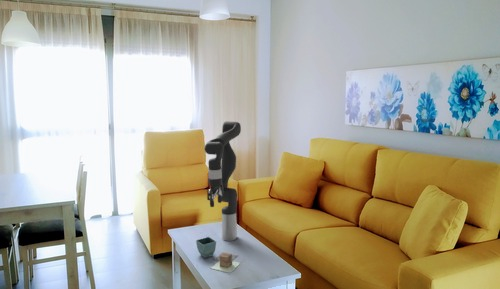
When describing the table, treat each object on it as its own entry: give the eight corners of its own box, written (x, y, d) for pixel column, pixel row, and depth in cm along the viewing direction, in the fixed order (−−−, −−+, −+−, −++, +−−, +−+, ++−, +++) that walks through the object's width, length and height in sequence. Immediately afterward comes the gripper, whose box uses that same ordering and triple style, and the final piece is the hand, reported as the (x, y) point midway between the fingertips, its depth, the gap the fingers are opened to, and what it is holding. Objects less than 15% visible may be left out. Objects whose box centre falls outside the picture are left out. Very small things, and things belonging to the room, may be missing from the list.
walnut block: (224, 262, 209) (224, 252, 208) (232, 264, 207) (232, 253, 206) (219, 266, 204) (219, 255, 204) (227, 268, 202) (227, 257, 201)
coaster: (221, 259, 213) (221, 259, 213) (240, 263, 208) (240, 263, 208) (210, 268, 203) (210, 268, 203) (230, 273, 197) (230, 272, 197)
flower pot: (203, 260, 213) (203, 245, 212) (196, 254, 220) (195, 240, 219) (216, 256, 218) (216, 241, 217) (209, 251, 225) (208, 236, 224)
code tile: (222, 252, 222) (222, 252, 222) (237, 255, 218) (237, 255, 218) (213, 259, 213) (213, 259, 213) (229, 263, 209) (229, 262, 209)
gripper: (215, 173, 222) (216, 200, 224) (202, 179, 209) (203, 207, 211) (227, 174, 218) (227, 202, 221) (214, 180, 206) (215, 209, 208)
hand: (216, 204), depth 216 cm, fingers open, 8 cm apart
